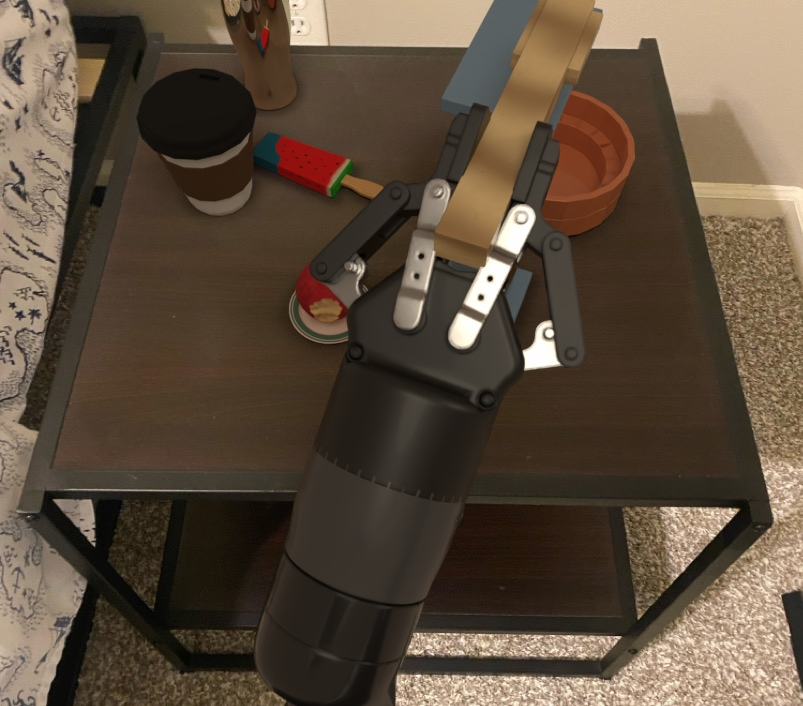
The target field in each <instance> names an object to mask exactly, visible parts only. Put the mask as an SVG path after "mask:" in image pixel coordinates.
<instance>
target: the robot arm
mask: <svg viewBox="0 0 803 706" xmlns="http://www.w3.org/2000/svg"><path fill="white" fill-rule="evenodd" d="M490 120H491V116H490V109H489V106H485V105H482V104H478V103H475V102H474V103H473V105H472V107H471V109H470V112H469V115H468V114H465V113H461V112H460V113H459V114H458V115H455V117H454V118H453V119H452V121H451V123H450V126H449V129H448V132H447V135H446V137H445V141H444V143H443V146H442V149H441V152H440V154H439V158H438V160H437V163H436V167H435V169H434V172H433V174H432V175H431V176H430V177H429V178H428V179H427V180H425V181H422V182H413V183H405V182H404V181H401V180H397V179H396V180H391V181H390V182H388V183H386V185H385V186H383V187H384V188H383V189H382V190H381V191H380V192H379V193H378V194H377V195H376V196H375V197H374V198H373V199H370V201H369V202H368V203H367V204H366V205H365V206H364V207H363V208H362V209H361V210H360V211H359V212H358V213H357V214H356V215H355V216H354V217H353V218H352V219H351V220H350V221H349V223H347V224H346V225H345V226H344V227H343V228H342V230H340V231H339V233H337V235H335V236H334V237H333V238H332V239H331V241H330V242H328V244H326V246H325V247H323V249H322V250H321V251H320V252H319V253H318V254H316V256H314V257H313V259H312V260H311V261H310V262H309V264H310V267H309V270H310V274H311V276H312V277H313V278H314V279H315V280H317V281H319V282H320V283H322V284H325V285H326V286H327V287H328V288H329V289H330V290H331V291H332V292H333V293H334V294H335V295H336V296H337V297H338V298H339V299H340V300H341V302H342V303H343V304H344V305H345V306H346V307H347V308H348V312H347V318H346V321H347V327H348V340H347V345H346V348H345V351H344V354H343V357H342V360H341V363H340V366H339V368H338V371H337V374H336V376H335V379H334V384H333V385H332V389H331V391H330V394H329V397H328V401H327V403H326V405H325V408H324V412H323V413H322V418H321V421H320V424H319V427H318V430H317V432H316V434H315V438H314V441H313V443H312V447H311V450H310V452H309V455H308V458H307V461H306V464H305V467H304V470H303V473H302V476H301V477H300V478H301V479H300V481H299V484H298V488H297V491H296V494H295V498H294V501H293V506H292V510H291V515H290V521H289V526H288V531H287V535H286V539H285V541H284V546H283V548H282V550H281V553H280V556H279V559H278V561H277V564H276V567H275V570H274V572H273V576H272V579H271V582H270V584H269V587H268V590H267V594H266V597H265V600H264V602H263V606H262V608H261V612H260V615H259V618H258V621H257V625H256V629H255V632H254V638H253V653H252V654H253V655H252V656H253V661H254V665H255V669H256V672H257V673H258V674H259V677H260V678H261V679H262V681H263V682H264V683H265V685H266V686H267V687H268V688H269V689H270V690H271V691H272V692H273V693H275V694H276V695H277V696H278V697H280V698H281V699H283V700H284V701H285V703H284V705H283V706H396V703H397V702H396V701H397V683H398V682H397V681H398V675H399V672H400V670H401V667H402V665H403V662H404V660H405V658H406V655H407V653H408V650H409V647H410V645H411V642H412V639H413V636H414V633H415V630H416V627H417V625H418V622H419V619H420V617H421V614H422V612H423V611H422V610H423V608H424V605H425V602H426V600H427V596H428V594H429V592H430V589H431V587H432V585H433V582H434V580H435V578H436V576H437V574H438V573H439V571H440V569H441V567H442V566H443V563H444V561H445V559H446V557H447V555H448V554H449V553H448V552H449V550H450V548H451V545H452V543H453V541H454V537H455V534H456V531H457V529H458V527H459V525H460V523H461V521H462V520H463V517H464V513H465V506H466V503H467V500H468V498H469V495H470V491H471V489H472V486H473V484H474V481H475V477H476V475H477V472H478V469H479V467H480V463H481V461H482V458H483V456H484V452H485V451H486V447H487V444H488V441H489V438H490V436H491V433H492V430H493V427H494V425H495V421H496V419H497V415H498V413H499V411H500V407H501V405H502V402H503V399H504V397H505V396H506V394H507V393H508V392H509V390H510V389H511V388H512V387H513V386H515V385H516V384H517V383H518V382H519V381H520V380H522V379H521V378H523V375H524V373H525V371H531V370H540V369H548V368H555V367H562V368H565V369H574V368H578V367H580V366H581V365H583V363H584V361H585V360H586V356H587V350H586V344H585V337H584V336H585V335H584V331H583V323H582V315H581V308H580V302H579V294H578V287H577V281H576V275H575V274H576V273H575V266H574V260H573V252H572V251H573V250H572V244H571V239H570V237H569V236H567V235H566V234H565V233H563V232H561V231H558V230H556V229H555V228H554V227H552V226H551V225H550V224H549V223H547V222H546V221H545V220H544V218H543V216H542V213H541V211H542V208H543V205H544V202H545V199H546V196H547V194H548V191H549V188H550V185H551V182H552V179H553V177H554V174H555V171H556V168H557V165H558V162H559V156H560V145H559V141H558V140H555V139H551V137H552V129H553V125H552V124H548V123H545V122H541V121H537V123H536V125H535V128H534V130H533V133H532V136H531V139H530V142H529V145H528V148H527V150H526V153H525V156H524V159H523V162H522V165H521V167H520V170H519V173H518V176H517V179H516V182H515V185H514V187H513V194H512V196H511V203H512V208H511V210H510V211H509V213H508V215H507V217H506V219H505V221H504V223H503V225H502V228H501V230H500V232H499V234H498V236H497V239H496V242H495V244H494V247H493V249H492V251H491V253H490V255H489V258H488V261H487V264H486V266H485V267H480V269H479V271H478V272H472V271H457V270H455V269H453V268H452V267H450V266H449V265H448V263H446V262H447V259H445V258H442V257H439V256H436V252H435V251H433V249H434V234H435V230H436V228H437V226H438V224H439V222H440V220H441V218H442V216H443V214H444V211H445V209H446V207H447V205H448V203H449V201H450V199H451V197H452V195H453V193H454V191H455V189H456V187H457V185H458V183H459V181H460V179H461V177H462V176H463V175H464V173H465V171H466V169H467V167H468V165H469V163H470V161H471V159H472V157H473V155H474V153H475V151H476V149H477V146H478V144H479V142H480V140H481V138H482V136H483V134H484V132H485V130H486V128H487V126H488V124H489V122H490ZM412 217H418V218H417V222H416V225H415V227H414V229H413V231H412V235H411V238H410V244H409V249H408V252H407V257H406V262H405V263H404V264H402V265H400V266H399V267H398V268H397V269H396V270H394V271H393V272H391V273H389V275H387V276H386V277H385V278H383V279H381V280H380V281H379V282H377V283H376V284H375V285H374V286H372V287H370V288H369V289H368V291H366V292H365V293H364V292H363V285H364V284H365V282H366V280H367V279H368V277H369V275H370V269H371V268H370V266H369V263H368V261H369V260H370V259H371V258H373V256H374V255H375V254H376V253H377V252H378V251H379V250H380V249H381V248H382V247H383V246H384V245H385V244H386V243H387V242H388V241H389V240H390V239H391V238H392V237H394V235H395V234H396V233H397V232H398V231H399V230H400V229H401V228H402V227H403V226H404V225H405V224H406V223H407V222H408V221H409V220H410V219H411V218H412ZM527 249H528V250H530V251H531V252H532V253H533V254H535V255H536V256H538V257H539V258H540V259H541V264H542V265H541V266H542V272H543V278H544V279H543V280H544V287H545V293H546V299H547V308H548V314H549V319H548V320H544V321H542V322H540V323H539V324H538V325H537V327H536V328H535V331H534V339H533V343H532V344H531V345H530V346H529V347H528V348H526V349H523V348H522V344H521V340H520V337H519V334H518V331H517V330H518V329H517V327H516V323H514V321H513V317H512V314H511V311H510V307H509V304H508V301H507V298H506V295H505V293H506V291H507V289H508V287H509V285H510V283H511V281H512V279H513V277H514V275H515V273H516V270H517V268H519V265H520V263H521V261H522V259H523V257H524V255H525V253H526V251H527Z"/></svg>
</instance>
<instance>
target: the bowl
mask: <svg viewBox="0 0 803 706" xmlns="http://www.w3.org/2000/svg"><path fill="white" fill-rule="evenodd" d="M552 139H555V140H558V141H559V145H560V156H559V162H558V165H557V168H556V171H555V174H554V177H553V179H552V182H551V185H550V188H549V191H548V194H547V196H546V199H545V202H544V205H543V208H542V211H541V213H542V216H543V218H544V220H545V221H546V222H547V223H549V224H550V225H551V226H552V227H554V228H555V229H556V230H558V231H561V232H563V233H565V234H566V235H567V236H568V237H569V236H576V235H581V234H584V233H585V232H587V231H589V230H591V229H593V228H596V227H598V226H599V225H601V224H602V223H603V222H604V221H605V220H606V219H607V218H608V217H609V216H610V215H611V214H612V213H613V212H614V210H615V208H616V206H617V203H618V201H619V199H620V196H621V193H622V192H623V189H624V187H625V185H626V181H627V179H628V177H629V174H630V172H631V169H632V166H633V165H634V162H635V159H636V149H635V139H634V137H633V135H632V133H631V131H630V128H629V126H628V125H627V123H626V121H625V120H624V119H623V118H622V117H621V116H620V115H619V114H618V113H617V112H616V111H615V110H614V109H613V108H612V107H610V106H609V105H608V104H605V103H604V102H602V101H600V100H599V99H597V98H595V97H593V96H592V95H589V94H587V93H583V92H581V91H576V90H573V89H572V91H571V94H570V96H569V98H568V101H567V103H566V106H565V108H564V111H563V113H562V115H561V118H560V120H559V123H558V125H557V128H556V130H555V133H554V135H553V137H552Z"/></svg>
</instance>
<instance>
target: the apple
mask: <svg viewBox="0 0 803 706" xmlns="http://www.w3.org/2000/svg"><path fill="white" fill-rule="evenodd" d="M309 267H310V263H308V264H307V265H305V266H304V267H303V269H302V270H301V271H300V273H299V276H298V278H297V281H296V285H295V291H294V292H293V293H292V295H291V298H290V300H289V304H288V315H289V319H290V321H291V324H292V325H293V327H294V329H295V330H296V331H297V332H298V333H299V334H300V335H301V336H303V337H304V338H305V339H307V340H310V341H312V342H315V343H318V344H324V345H333V344H340V343H344V342H348V327H347V321H346V318H347V312H348V308H347V307H346V306H345V305H344V304H343V303H342V302H341V300H340V299H339V298H338V297H337V296H336V295H335V294H334V293H333V292H332V291H331V290H330V289H329V288H328V287H327V286H326V285H325V284H322V283H320V282H319V281H317V280H315V279H314V278H313V277H312V276H311V274H310V270H309ZM368 290H369V289H368V288H367V287H366V285H364V284H363V292H364V293H365V292H366V291H368Z"/></svg>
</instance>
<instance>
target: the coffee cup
mask: <svg viewBox="0 0 803 706" xmlns="http://www.w3.org/2000/svg"><path fill="white" fill-rule="evenodd" d="M257 113H258V112H257V108H256V107H255V104H254V101H253V98H252V95H251V92H250V91H248V90H247V89H246V88H245V84H243V83H241V82H240V80H238V79H237V78H236V77H235V76H234V75H231V74H229V73H226V72H223V71H220V70H218V69H214V68H200V67H193V68H188V69H183V70H178V71H174V72H171V73H170V74H168V75H166V76H165V77H162V78H161V79H159V80H156V82H154V84H152V85H151V86H150V87H149V88H148V90H147V91H146V92H145V93H144V94H143V95H142V98H141V100H140V103H139V106H138V109H137V114H136V118H135V119H136V122H137V126H138V131H139V135H140V137H141V139H142V141H144V143H146V144H147V145H148V146H149V148H151V150H152V151H154V152H155V153H156V154H157V156H158V157H159V159H160V161H161V162H162V163H163V165H164V167H165V168H166V170H167V172H168V174H169V175H170V176H171V178H172V179H173V181H174V182H175V184H176V185H177V187H178V188H179V189H180V191H182V193H184V196H186V198H187V200H188V201H189V202H190V203H191V204H192V206H194V207H195V208H196V210H198V211H200V212H201V213H204V214H207V215H208V216H217V217H219V216H220V217H223V216H227V215H230V214H234V213H236V212H237V211H239V210H240V209H242V208H243V207H244V206H245V205H246V203H248V201H249V198H250V196H251V194H252V190H253V189H252V188H253V173H254V169H255V168H254V165H255V164H254V163H253V150H254V134H253V133H254V132H253V130H254V127H255V122H256V117H257Z"/></svg>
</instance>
